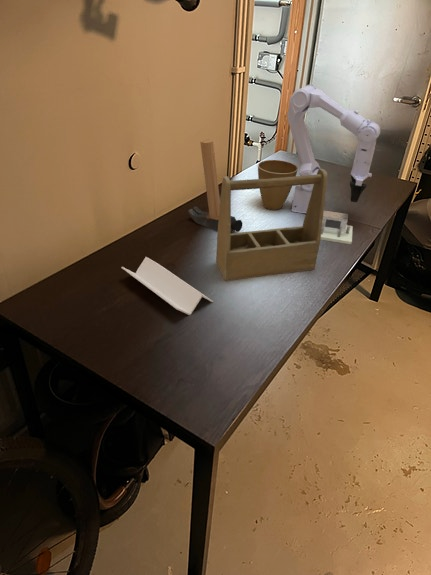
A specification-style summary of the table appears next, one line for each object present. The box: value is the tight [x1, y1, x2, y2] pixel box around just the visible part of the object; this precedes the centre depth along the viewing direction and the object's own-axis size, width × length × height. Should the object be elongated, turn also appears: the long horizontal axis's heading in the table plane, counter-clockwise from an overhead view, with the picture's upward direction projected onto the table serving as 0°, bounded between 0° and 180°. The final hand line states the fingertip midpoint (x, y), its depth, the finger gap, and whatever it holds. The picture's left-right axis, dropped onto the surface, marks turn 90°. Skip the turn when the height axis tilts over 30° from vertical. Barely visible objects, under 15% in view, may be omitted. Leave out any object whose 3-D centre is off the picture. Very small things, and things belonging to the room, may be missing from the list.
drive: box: [322, 210, 349, 235], centre depth 149 cm, size 9×5×6 cm, turn 74°
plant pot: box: [257, 159, 299, 211], centre depth 164 cm, size 15×15×16 cm
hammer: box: [187, 139, 243, 233], centre depth 145 cm, size 20×5×30 cm, turn 52°
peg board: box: [320, 224, 353, 245], centre depth 151 cm, size 15×12×4 cm
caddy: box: [215, 168, 328, 282], centre depth 124 cm, size 29×11×30 cm, turn 105°
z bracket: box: [121, 256, 215, 316], centre depth 120 cm, size 12×25×6 cm
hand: (354, 197), depth 154 cm, fingers open, 7 cm apart
